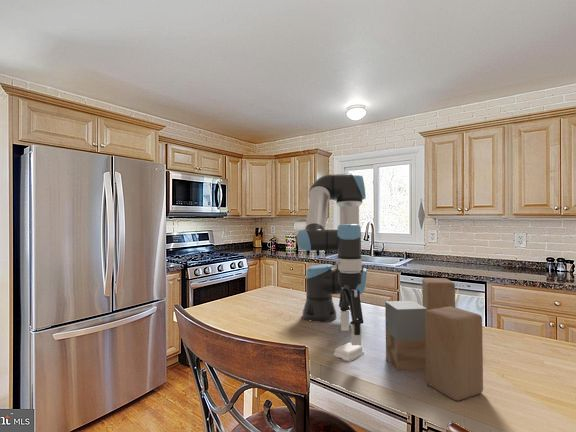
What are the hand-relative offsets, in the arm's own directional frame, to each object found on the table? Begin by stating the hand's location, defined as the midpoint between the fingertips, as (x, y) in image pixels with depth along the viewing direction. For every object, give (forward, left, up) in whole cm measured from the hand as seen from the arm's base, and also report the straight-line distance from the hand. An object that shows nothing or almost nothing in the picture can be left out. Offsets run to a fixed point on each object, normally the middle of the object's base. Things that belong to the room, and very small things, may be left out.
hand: (350, 337), depth 105 cm
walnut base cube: (+8, +15, -6) cm, 18 cm away
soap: (-1, 0, -7) cm, 7 cm away
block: (+23, +21, -6) cm, 32 cm away
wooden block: (-18, +40, -6) cm, 45 cm away
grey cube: (+8, +15, +3) cm, 17 cm away
